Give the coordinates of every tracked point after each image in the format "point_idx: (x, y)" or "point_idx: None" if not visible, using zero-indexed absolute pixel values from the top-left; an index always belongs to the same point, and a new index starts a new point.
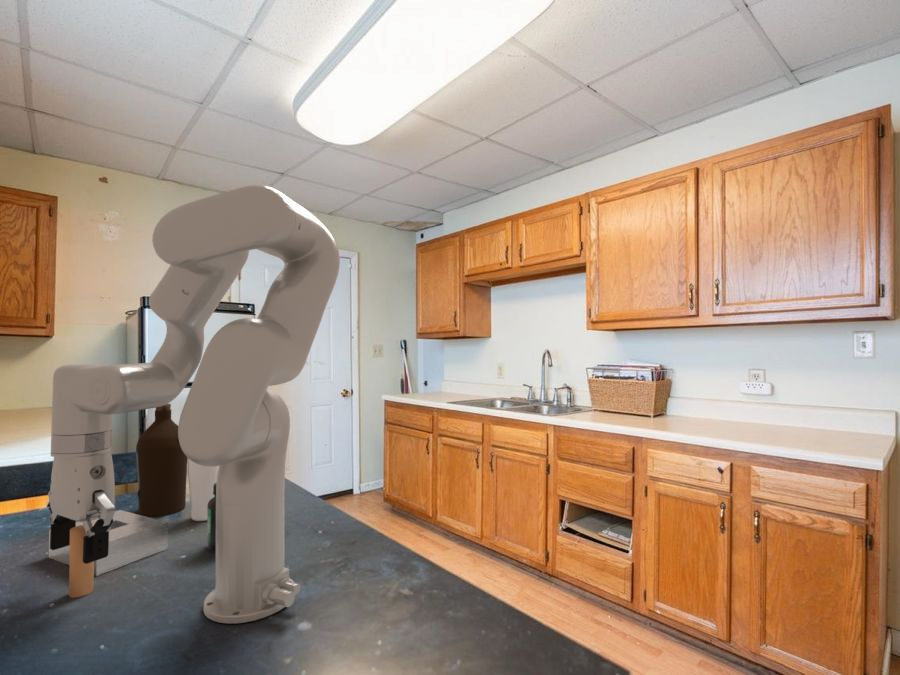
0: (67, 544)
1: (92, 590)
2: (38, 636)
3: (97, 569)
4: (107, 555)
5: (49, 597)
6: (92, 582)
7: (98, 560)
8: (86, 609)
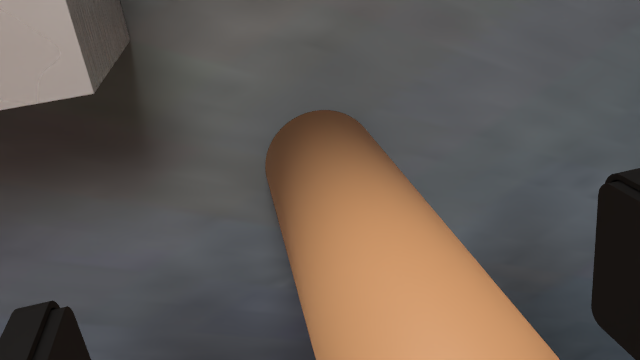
0: (82, 357)
1: (360, 124)
2: (578, 346)
3: (124, 41)
4: (635, 169)
5: (236, 278)
6: (374, 140)
7: (111, 45)
8: (534, 191)
